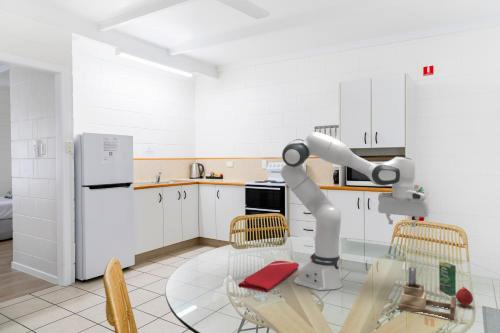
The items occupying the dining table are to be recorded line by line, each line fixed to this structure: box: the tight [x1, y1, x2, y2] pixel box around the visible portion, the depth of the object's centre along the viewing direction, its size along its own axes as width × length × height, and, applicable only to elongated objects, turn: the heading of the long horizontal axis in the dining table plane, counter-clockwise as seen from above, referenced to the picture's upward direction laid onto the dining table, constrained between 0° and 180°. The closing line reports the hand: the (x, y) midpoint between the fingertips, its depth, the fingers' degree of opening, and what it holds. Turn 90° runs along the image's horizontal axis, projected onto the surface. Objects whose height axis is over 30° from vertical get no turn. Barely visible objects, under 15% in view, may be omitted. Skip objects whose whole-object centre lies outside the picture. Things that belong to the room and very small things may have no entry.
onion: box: [455, 285, 474, 307], centre depth 145 cm, size 6×6×8 cm
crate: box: [400, 281, 427, 309], centre depth 144 cm, size 8×8×8 cm
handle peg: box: [408, 266, 417, 288], centre depth 144 cm, size 3×3×10 cm
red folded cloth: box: [238, 260, 300, 293], centre depth 181 cm, size 16×41×4 cm, turn 152°
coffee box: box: [438, 260, 457, 297], centre depth 161 cm, size 8×3×13 cm, turn 6°
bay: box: [397, 296, 457, 321], centre depth 141 cm, size 19×12×5 cm, turn 58°
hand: (402, 225), depth 157 cm, fingers open, 8 cm apart
